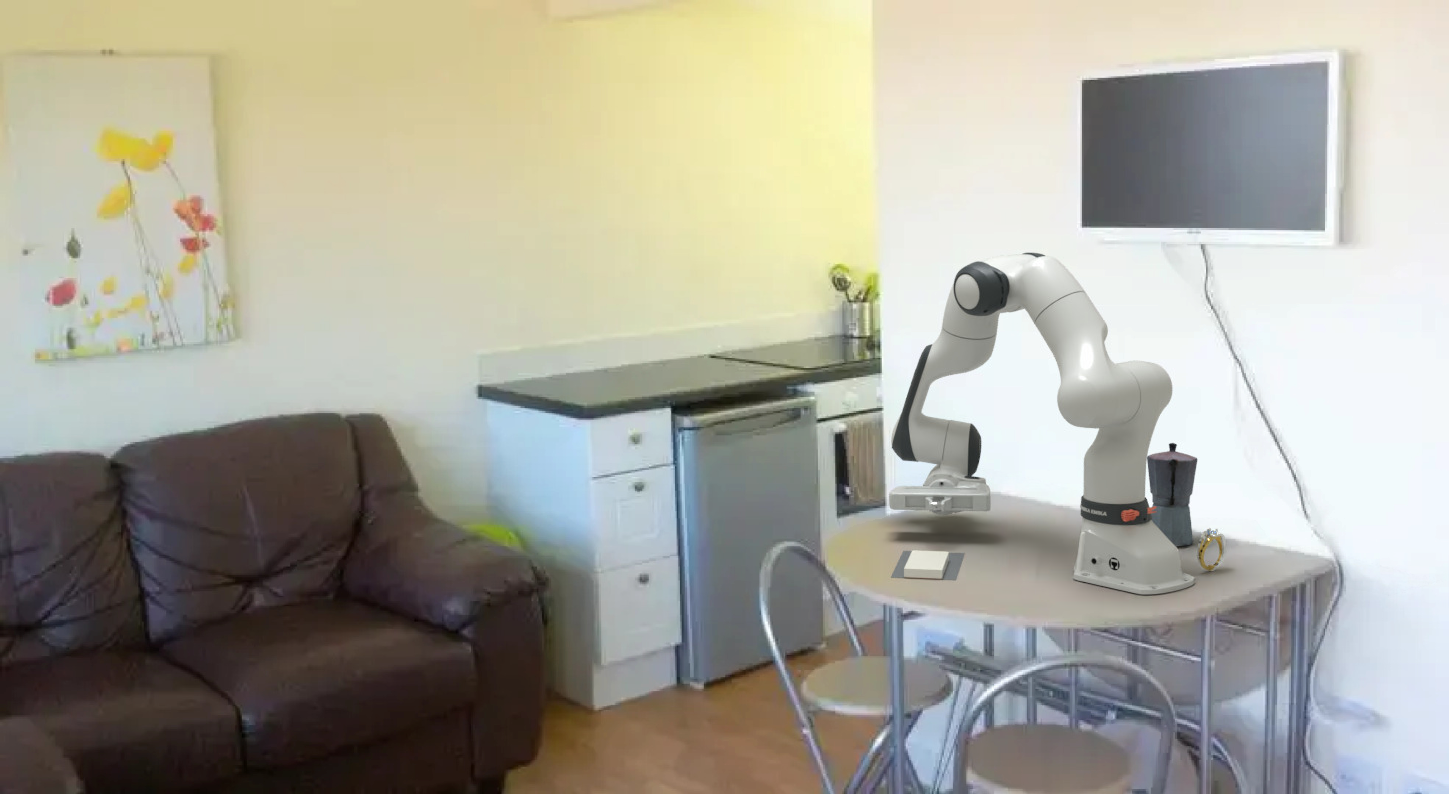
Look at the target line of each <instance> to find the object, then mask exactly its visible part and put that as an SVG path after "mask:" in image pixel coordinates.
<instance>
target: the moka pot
mask: <svg viewBox="0 0 1449 794" xmlns="http://www.w3.org/2000/svg"><path fill="white" fill-rule="evenodd" d="M1177 446H1178V445H1177V443H1174V442H1170V443H1168V448H1169V450H1167V451H1161V452H1156V453H1152V454H1150V455H1147V461H1146V463H1147V472H1148V481H1149V488H1150V489H1149V490H1150V493H1151V495H1152V499H1151V500H1152V503H1153V504H1152V505H1151V507H1155V506H1156V507H1157V508H1155V509H1154V510H1152V511H1157V512H1156V513H1151V514H1152V521H1153V522H1154V524H1155V525H1156V526H1157V527H1158V528H1159V529H1160V530H1161V531H1162V532H1163V534H1164V535H1165V536H1166V537H1167V538H1168V539H1169V540H1170V541H1171V542H1172V543H1173V544H1174V545H1175V546H1176V547H1183V546H1185V547H1186V546H1190V545H1193V544H1194V539H1193V537H1194V536H1193V527H1192V517H1191V510H1190V501H1191V496H1192V495H1193V491H1194V490H1193V489H1194V485H1195V484H1194V483H1195V477H1196V471H1197V464H1198V458H1197V457H1196V456H1193V455H1189V454H1186V453H1183V452H1179V451H1176V450H1177Z"/></svg>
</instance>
